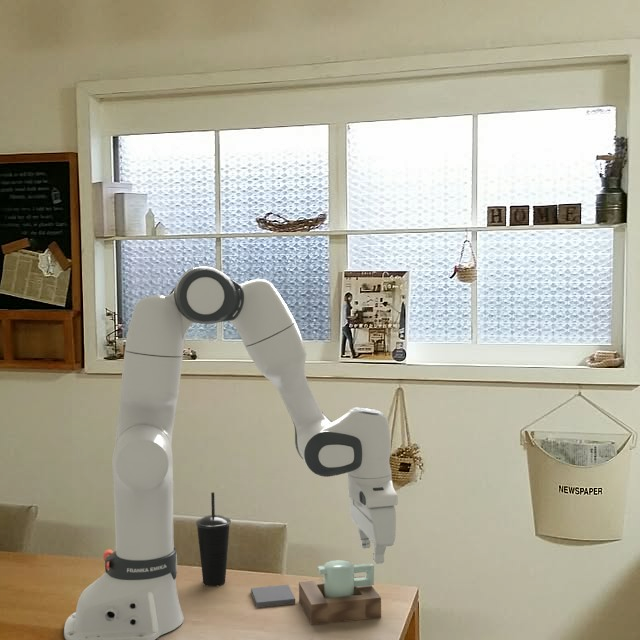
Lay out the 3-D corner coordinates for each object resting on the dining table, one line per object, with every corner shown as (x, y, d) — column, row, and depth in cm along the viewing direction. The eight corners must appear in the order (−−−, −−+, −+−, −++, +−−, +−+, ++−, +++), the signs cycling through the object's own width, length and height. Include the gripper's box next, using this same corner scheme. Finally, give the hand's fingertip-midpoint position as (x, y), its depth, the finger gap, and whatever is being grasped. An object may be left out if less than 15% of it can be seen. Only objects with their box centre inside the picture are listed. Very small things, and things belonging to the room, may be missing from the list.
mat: (256, 607, 168) (256, 602, 168) (251, 592, 176) (251, 588, 176) (295, 603, 170) (295, 598, 170) (288, 589, 178) (288, 584, 178)
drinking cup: (225, 590, 178) (224, 498, 176) (191, 587, 179) (190, 496, 178) (236, 577, 185) (234, 489, 184) (203, 575, 187) (202, 487, 186)
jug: (322, 616, 163) (322, 572, 162) (315, 605, 169) (315, 561, 168) (377, 611, 166) (377, 567, 165) (368, 600, 171) (368, 557, 171)
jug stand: (311, 624, 159) (311, 604, 159) (299, 601, 171) (298, 582, 171) (381, 617, 163) (381, 597, 162) (364, 594, 174) (364, 576, 174)
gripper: (342, 476, 176) (343, 540, 177) (369, 502, 156) (371, 573, 157) (370, 474, 178) (372, 537, 179) (400, 499, 158) (402, 570, 159)
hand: (371, 554), depth 168 cm, fingers open, 8 cm apart
